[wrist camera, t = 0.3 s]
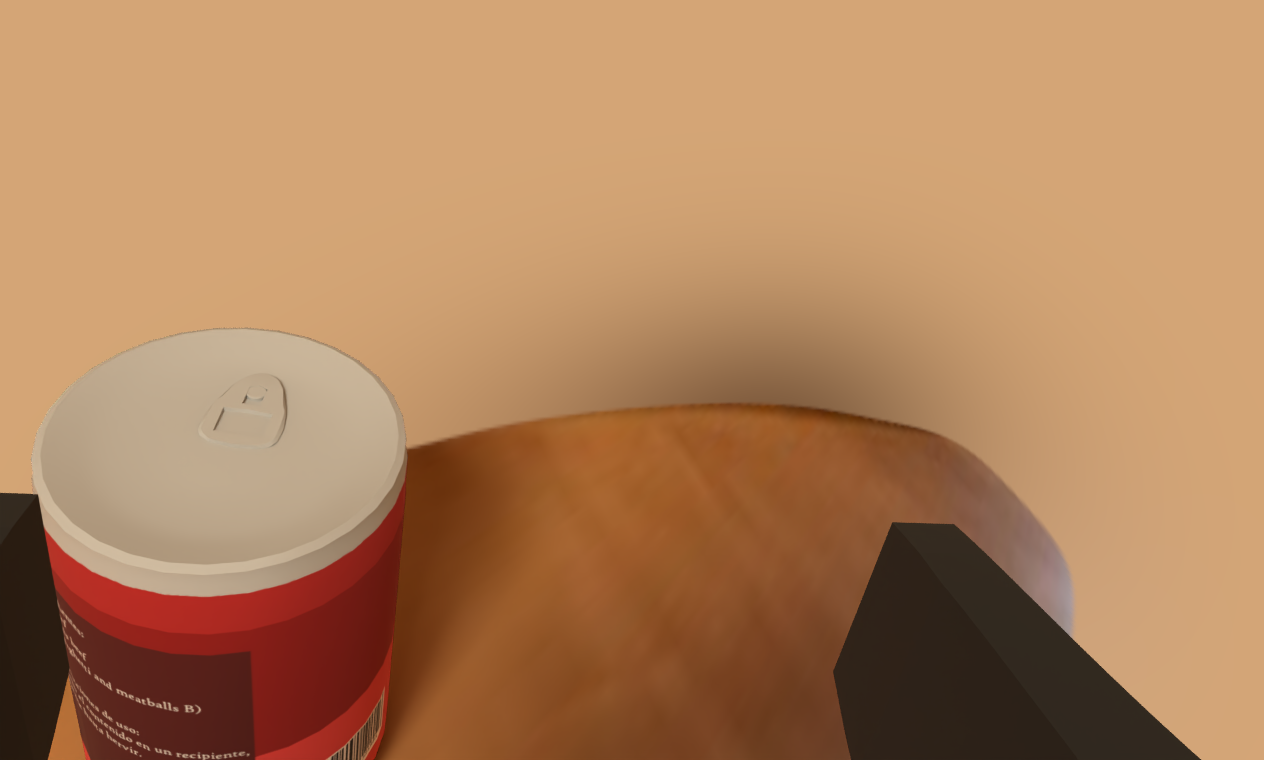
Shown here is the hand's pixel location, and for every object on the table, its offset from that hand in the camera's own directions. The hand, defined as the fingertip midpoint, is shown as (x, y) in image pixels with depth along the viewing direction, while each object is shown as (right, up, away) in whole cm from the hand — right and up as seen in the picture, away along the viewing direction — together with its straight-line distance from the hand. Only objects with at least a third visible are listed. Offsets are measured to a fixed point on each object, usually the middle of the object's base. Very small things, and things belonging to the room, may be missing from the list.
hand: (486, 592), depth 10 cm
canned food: (-9, -8, +21) cm, 24 cm away
